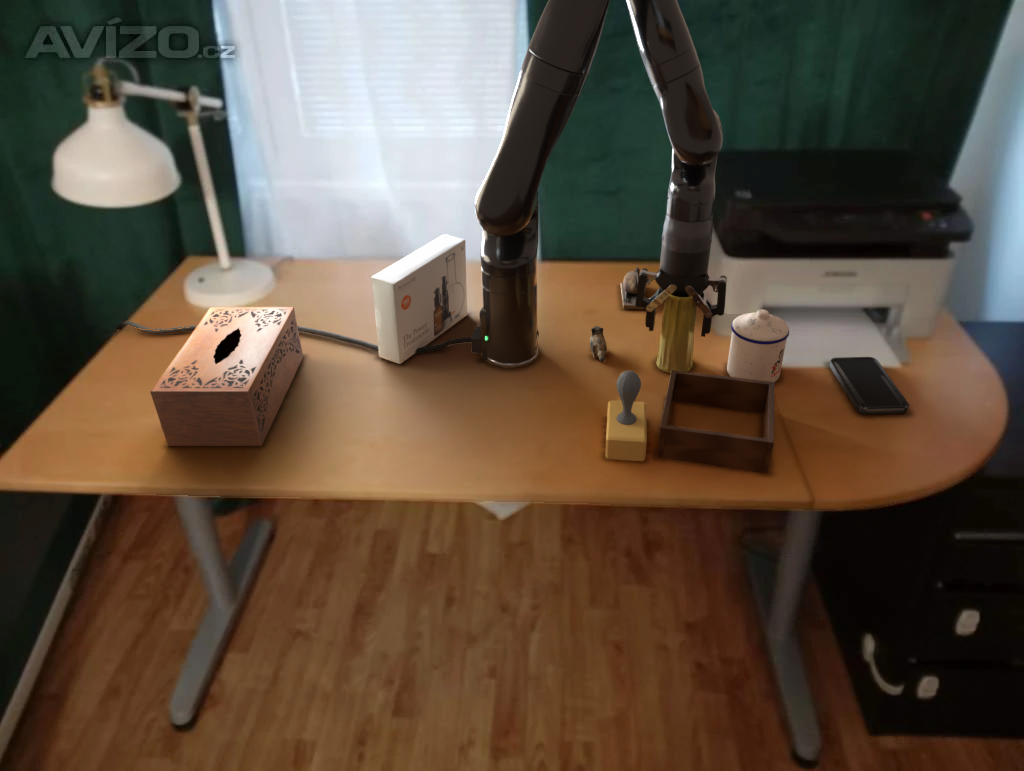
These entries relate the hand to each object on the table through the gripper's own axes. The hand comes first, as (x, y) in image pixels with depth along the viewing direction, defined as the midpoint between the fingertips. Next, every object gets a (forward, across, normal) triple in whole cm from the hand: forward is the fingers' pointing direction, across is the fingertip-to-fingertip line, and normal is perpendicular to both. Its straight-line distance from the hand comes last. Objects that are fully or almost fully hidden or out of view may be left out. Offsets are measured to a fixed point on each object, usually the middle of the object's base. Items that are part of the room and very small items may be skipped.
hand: (677, 331), depth 136 cm
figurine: (+7, +10, -21) cm, 24 cm away
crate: (+7, -8, +18) cm, 21 cm away
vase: (+7, 0, 0) cm, 7 cm away
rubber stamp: (+7, +5, +23) cm, 24 cm away
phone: (+7, -31, 0) cm, 32 cm away
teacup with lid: (+7, -13, -2) cm, 15 cm away
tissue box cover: (+7, +68, +26) cm, 73 cm away
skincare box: (+7, +45, 0) cm, 45 cm away
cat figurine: (+7, +13, 0) cm, 15 cm away
